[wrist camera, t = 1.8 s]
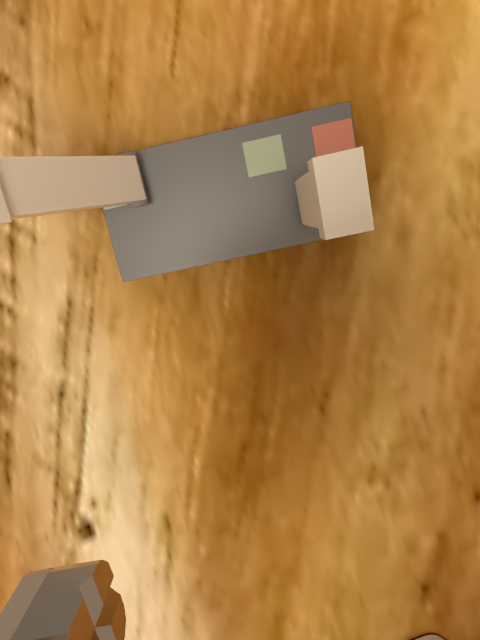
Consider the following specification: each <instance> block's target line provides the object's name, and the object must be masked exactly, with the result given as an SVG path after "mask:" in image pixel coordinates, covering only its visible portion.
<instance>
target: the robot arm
mask: <svg viewBox="0 0 480 640" xmlns="http://www.w3.org/2000/svg"><path fill="white" fill-rule="evenodd" d="M113 577H114V576H113V573H112V571H111V568H110V566H109V563H108V562H107V561H104V560H98V561H91V562H85V563H78V564H72V565H65V566H59V567H55V568H48V569H42V570H36V571H31V572H29V573H28V574H26V575H25V576H24V577H23V578H22V580H21V581H20V583H19V585H18V586H17V588H16V589H15V591H14V593H13V594H12V596H11V598H10V599H9V601H8V602H7V604H6V606H5V607H4V609H3V611H2V612H1V614H0V640H124V638H125V624H126V616H125V609H124V604H123V601H122V598H121V595H120V594H119V593H117V592H116V591H114V590H113V589H112V588H110V585H111V582H112V580H113ZM415 640H444V639H442V638H441V637H439V636H437V635H427V636H423V637H420V638H418V639H415Z"/></svg>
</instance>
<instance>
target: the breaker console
mask: <svg viewBox="0 0 480 640" xmlns="http://www.w3.org/2000/svg"><path fill="white" fill-rule="evenodd" d="M354 148H357V147H356V140H355V133H354V126H353V119H352V112H351V105H350V101H348V102H344V103H340V104H335V105H331V106H327V107H323V108H318V109H314V110H310V111H305V112H301V113H297V114H293V115H288V116H284V117H280V118H275V119H271V120H267V121H263V122H258V123H254V124H250V125H245V126H241V127H237V128H233V129H228V130H224V131H220V132H216V133H211V134H207V135H203V136H198V137H194V138H190V139H186V140H181V141H177V142H173V143H168V144H164V145H160V146H156V147H151V148H147V149H143V150H139V151H135V152H136V154H137V158H138V162H139V166H140V170H141V174H142V178H143V182H144V186H145V190H146V194H147V198H148V202H149V204H147V205H143V206H139V207H133V208H130V207H129V204H124V205H117V206H109V207H102V208H103V212H104V216H105V219H106V223H107V227H108V230H109V234H110V237H111V241H112V245H113V248H114V252H115V256H116V259H117V263H118V267H119V270H120V274H121V277H122V281H123V282H125V281H130V280H134V279H139V278H144V277H149V276H153V275H158V274H163V273H168V272H172V271H177V270H182V269H187V268H191V267H196V266H201V265H206V264H210V263H215V262H220V261H225V260H229V259H234V258H239V257H244V256H248V255H253V254H258V253H263V252H267V251H272V250H277V249H282V248H286V247H291V246H296V245H301V244H305V243H310V242H315V241H320V240H324V239H322V238H320V235H319V229H318V228H314V227H309V228H304V225H303V224H302V220H301V215H300V209H299V203H298V198H297V192H296V186H295V181H296V178H295V177H296V176H300V175H304V174H306V173H307V172H309V169H308V163H307V162H308V161H309V160H310V159H311V158H314V157H318V156H322V155H327V154H331V153H336V152H340V151H345V150H349V149H354Z"/></svg>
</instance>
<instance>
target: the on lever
mask: <svg viewBox="0 0 480 640" xmlns="http://www.w3.org/2000/svg"><path fill="white" fill-rule="evenodd" d="M124 204H129V207H130V208H133V207H139V206H143V205H147V204H149V202H148V198H147V194H146V190H145V186H144V182H143V178H142V174H141V170H140V166H139V162H138V158H137V154H136V152H135V151H130V152H124V153H120V154H118V155H116V156H40V157H0V225H3V224H6V223H9V222H12V221H11V219H18V218H26V217H34V216H41V215H49V214H56V213H64V212H71V211H79V210H86V209H94V208H102V207H109V206H117V205H124Z"/></svg>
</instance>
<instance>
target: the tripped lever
mask: <svg viewBox="0 0 480 640" xmlns="http://www.w3.org/2000/svg"><path fill="white" fill-rule="evenodd" d="M307 163H308V169H309V172H307V173H306V174H304V175H300V176H296V177H295V178H296V181H295V186H296V192H297V198H298V203H299V209H300V215H301V220H302V224H303V225H304V228H309V227H314V228H318V229H319V235H320V238H322V239H324V240H329V239H334V238H338V237H343V236H348V235H353V234H357V233H362V232H367V231H372V230H374V223H373V216H372V208H371V201H370V194H369V187H368V180H367V173H366V166H365V158H364V151H363V146H362V147H358V148H354V149H349V150H345V151H340V152H336V153H331V154H327V155H322V156H318V157H314V158H311V159H310V160H309V161H308V162H307Z"/></svg>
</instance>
